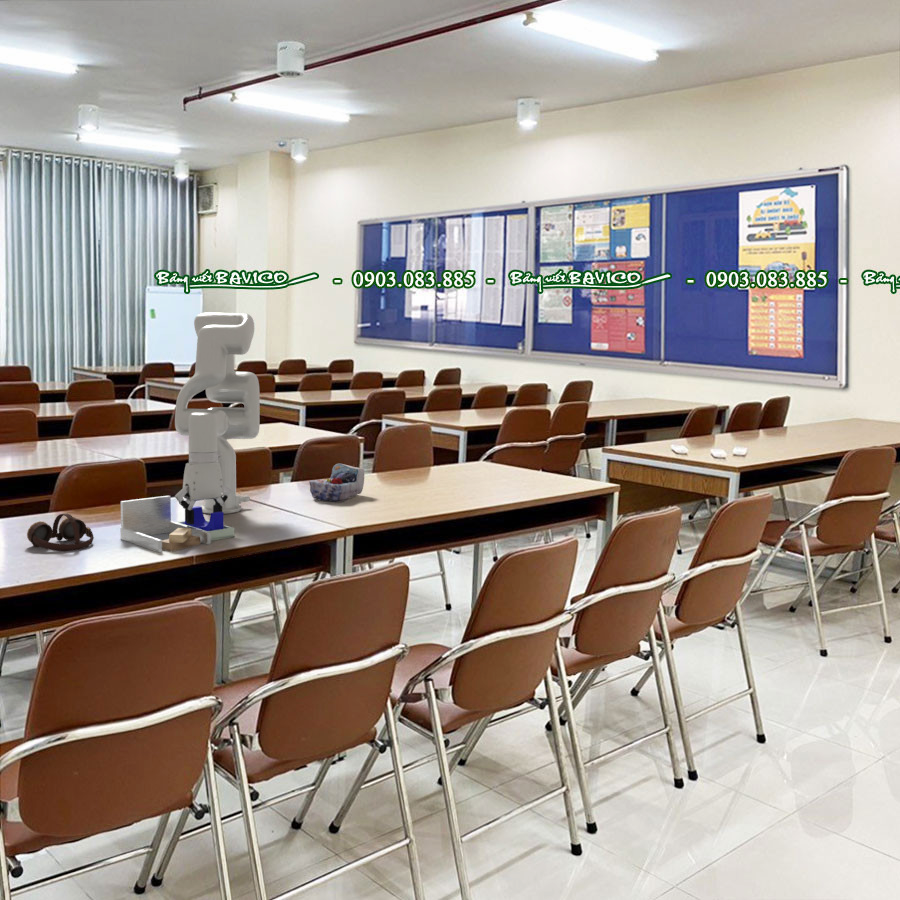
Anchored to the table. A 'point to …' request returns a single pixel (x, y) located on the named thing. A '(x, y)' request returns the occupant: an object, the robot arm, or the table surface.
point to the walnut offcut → (176, 546)
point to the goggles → (60, 534)
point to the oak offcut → (180, 535)
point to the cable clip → (201, 523)
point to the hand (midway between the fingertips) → (203, 521)
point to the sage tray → (218, 532)
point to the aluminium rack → (151, 522)
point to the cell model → (339, 484)
